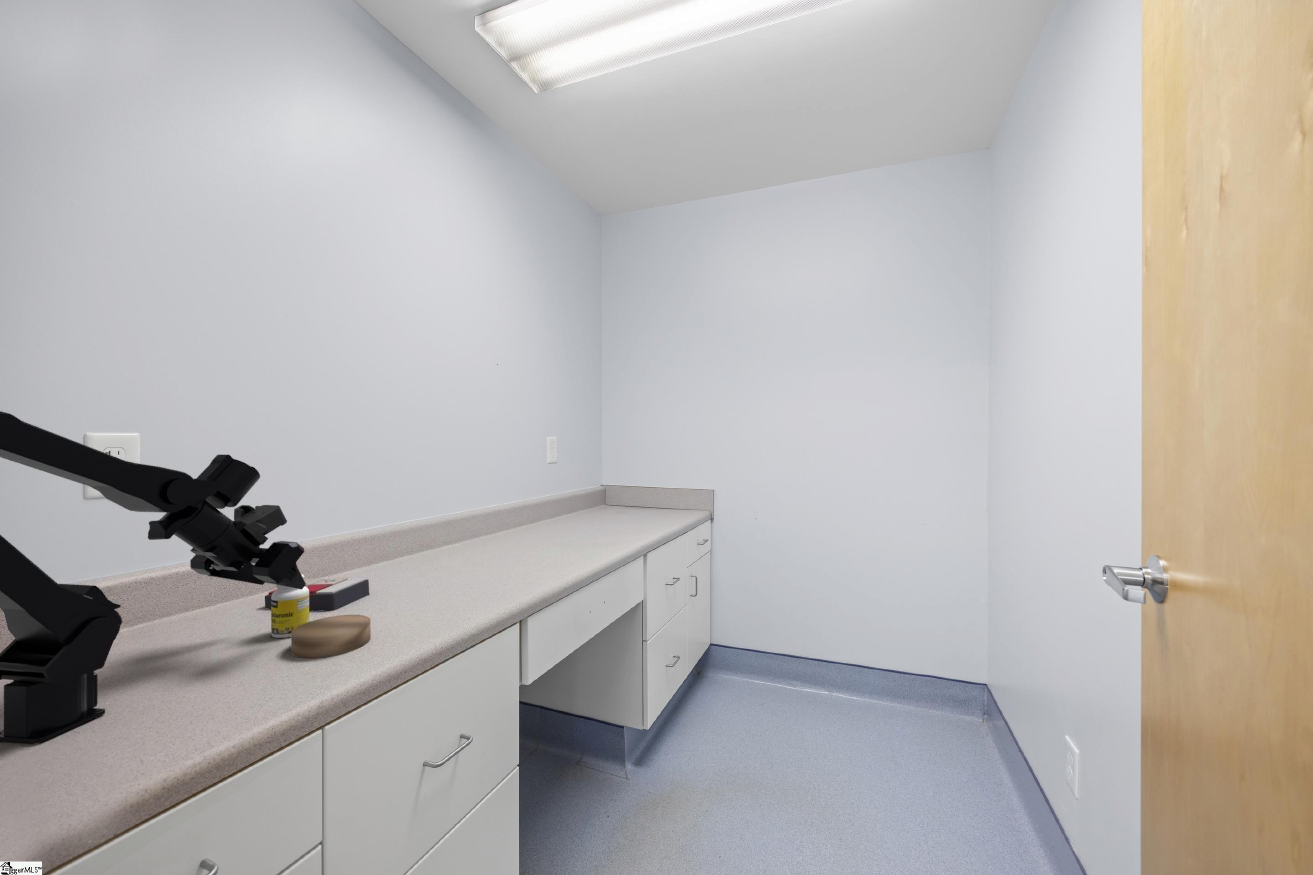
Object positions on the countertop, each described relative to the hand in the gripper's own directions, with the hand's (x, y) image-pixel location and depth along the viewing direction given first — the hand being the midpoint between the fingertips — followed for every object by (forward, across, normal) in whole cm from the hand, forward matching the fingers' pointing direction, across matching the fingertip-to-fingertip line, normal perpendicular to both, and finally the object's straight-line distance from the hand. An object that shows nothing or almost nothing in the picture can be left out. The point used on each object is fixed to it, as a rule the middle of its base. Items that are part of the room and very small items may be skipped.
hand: (283, 584), depth 89 cm
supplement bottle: (+7, 0, +6) cm, 9 cm away
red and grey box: (+18, +12, -5) cm, 22 cm away
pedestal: (+6, -12, +6) cm, 15 cm away
